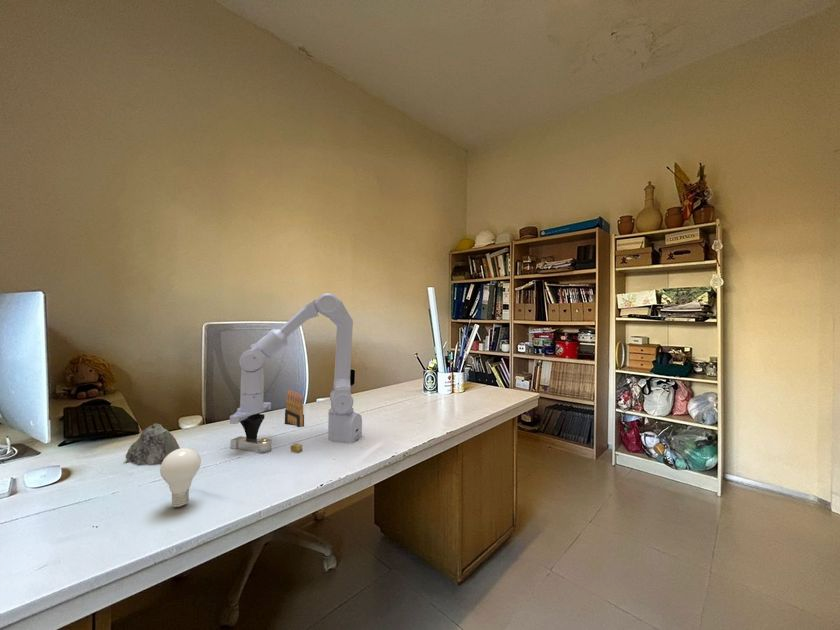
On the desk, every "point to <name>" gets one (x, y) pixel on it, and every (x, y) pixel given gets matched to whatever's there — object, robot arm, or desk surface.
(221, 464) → the desk surface
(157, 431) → the mineral rock
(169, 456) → the lightbulb
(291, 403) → the ammunition clip
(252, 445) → the swing bar
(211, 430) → the desk surface
